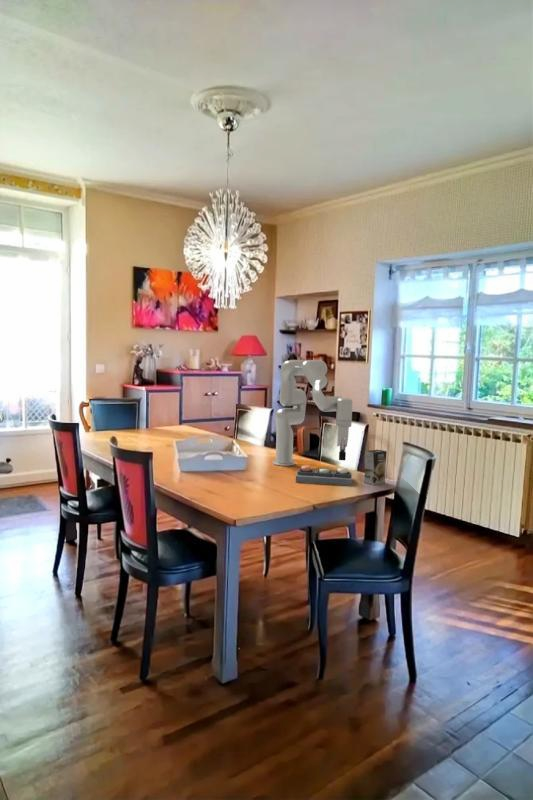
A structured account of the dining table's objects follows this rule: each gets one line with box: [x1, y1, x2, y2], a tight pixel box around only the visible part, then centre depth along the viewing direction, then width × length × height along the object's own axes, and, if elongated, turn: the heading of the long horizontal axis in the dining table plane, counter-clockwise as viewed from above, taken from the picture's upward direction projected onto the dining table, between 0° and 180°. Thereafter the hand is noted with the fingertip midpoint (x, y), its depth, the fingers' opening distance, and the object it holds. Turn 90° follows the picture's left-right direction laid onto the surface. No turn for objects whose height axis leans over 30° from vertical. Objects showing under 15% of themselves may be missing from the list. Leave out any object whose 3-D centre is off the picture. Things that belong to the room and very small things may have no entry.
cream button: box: [336, 467, 349, 474], centre depth 264 cm, size 5×5×2 cm
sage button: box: [318, 468, 330, 473], centre depth 265 cm, size 5×5×2 cm
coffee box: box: [363, 449, 387, 486], centre depth 263 cm, size 9×6×16 cm
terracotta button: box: [300, 465, 312, 472], centre depth 266 cm, size 5×5×2 cm
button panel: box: [295, 468, 353, 486], centre depth 265 cm, size 14×27×4 cm, turn 81°
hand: (342, 459), depth 263 cm, fingers closed
